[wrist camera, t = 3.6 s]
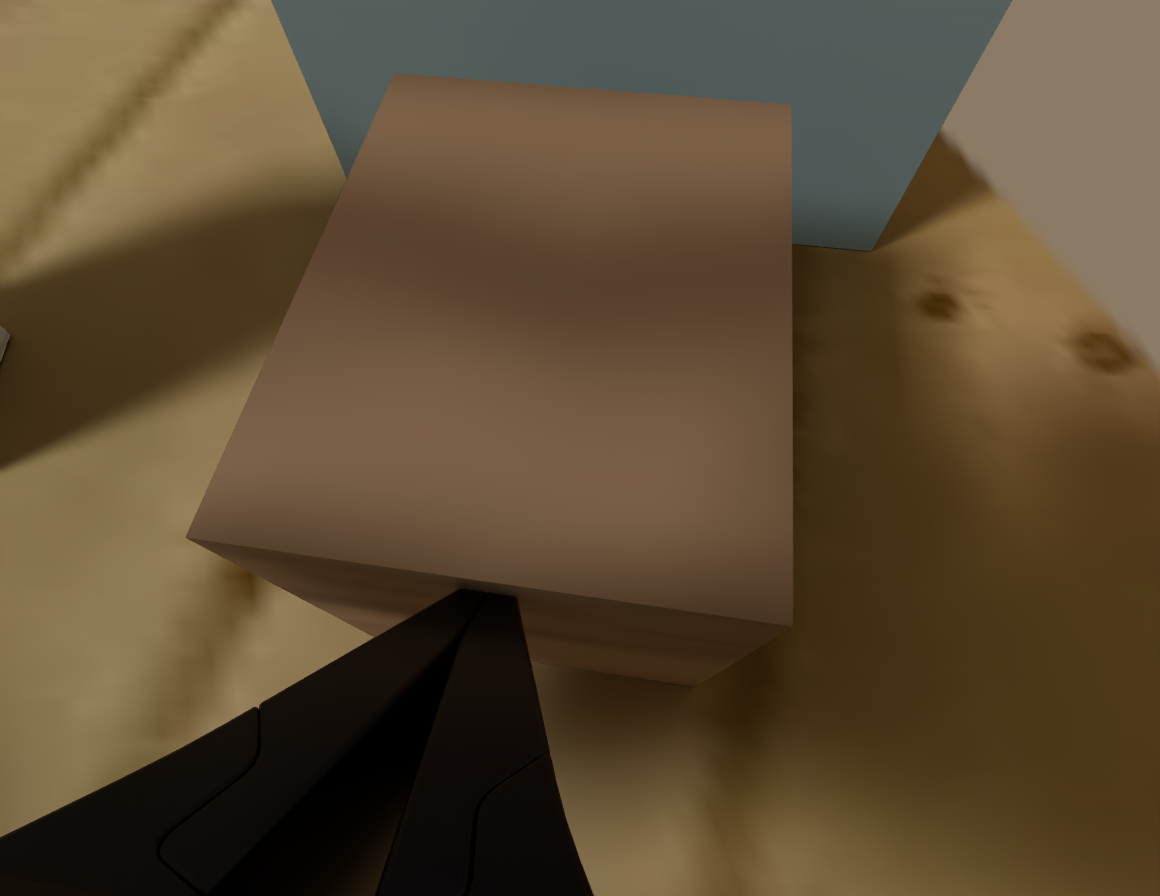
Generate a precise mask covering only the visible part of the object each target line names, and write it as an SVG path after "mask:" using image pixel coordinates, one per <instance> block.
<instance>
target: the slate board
mask: <svg viewBox="0 0 1160 896" xmlns="http://www.w3.org/2000/svg"><path fill="white" fill-rule="evenodd" d="M271 1H272V3H273V6H274V8H275V10H276V13H277V15H278V17H279V20H280V22H281V24H282V27H283V29H284V32H285V34H286V36H287V39H288V41H289V43H290V46H291V48H292V50H293V53H294V55H295V57H296V60H297V62H298V64H299V67H300V69H301V71H302V74H303V76H304V78H305V81H306V83H307V86H308V88H309V90H310V93H311V95H312V97H313V100H314V102H315V104H316V107H317V109H318V111H319V114H320V116H321V118H322V121H323V123H324V125H325V128H326V130H327V133H328V135H329V137H330V140H331V142H332V144H333V147H334V149H335V151H336V154H337V156H338V158H339V161H340V163H341V165H342V168H343V170H344V172H345V175H346V177H347V178H348V175H349V173H350V171H351V169H352V166H353V164H354V162H355V160H356V158H357V155H358V153H359V151H360V149H361V146H362V144H363V142H364V140H365V138H366V135H367V133H368V131H369V129H370V126H371V124H372V122H373V120H374V117H375V115H376V113H377V111H378V109H379V106H380V104H381V102H382V100H383V97H384V95H385V93H386V91H387V89H388V86H389V84H390V82H391V80H392V77H393V75H394V73H399V74H412V75H424V76H437V77H450V78H462V79H475V80H487V81H500V82H513V83H525V84H538V85H551V86H563V87H576V88H588V89H601V90H614V91H626V92H639V93H651V94H664V95H677V96H689V97H702V98H715V99H727V100H740V101H752V102H765V103H778V104H790V105H791V112H792V244H799V245H809V246H820V247H831V248H841V249H852V250H863V251H872V250H873V248H874V246H875V244H876V242H877V241H878V239H879V237H880V235H881V234H882V232H883V230H884V228H885V226H886V225H887V223H888V221H889V219H890V218H891V216H892V214H893V212H894V210H895V209H896V207H897V205H898V203H899V201H900V200H901V198H902V196H903V194H904V193H905V191H906V189H907V187H908V185H909V184H910V182H911V180H912V178H913V176H914V175H915V173H916V171H917V169H918V168H919V166H920V164H921V162H922V160H923V159H924V157H925V155H926V153H927V152H928V150H929V148H930V146H931V144H932V143H933V141H934V139H935V137H936V135H937V134H938V132H939V130H940V128H941V127H942V125H943V123H944V121H945V119H946V117H947V116H948V114H949V112H950V110H951V109H952V107H953V105H954V103H955V102H956V100H957V98H958V96H959V94H960V93H961V91H962V89H963V87H964V86H965V84H966V82H967V80H968V78H969V77H970V75H971V73H972V71H973V69H974V68H975V66H976V64H977V62H978V60H979V59H980V57H981V55H982V53H983V52H984V50H985V48H986V46H987V44H988V43H989V41H990V39H991V37H992V36H993V34H994V32H995V30H996V28H997V27H998V25H999V23H1000V21H1001V20H1002V18H1003V16H1004V14H1005V12H1006V10H1007V9H1008V7H1009V5H1010V3H1011V2H1012V0H271Z"/></svg>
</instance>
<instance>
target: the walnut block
mask: <svg viewBox="0 0 1160 896" xmlns="http://www.w3.org/2000/svg"><path fill="white" fill-rule="evenodd" d="M186 538H187V539H189V540H191V541H193V542H195V543H197V544H199V545H200V546H202V547H204V548H206V549H208V550H210V551H212V552H214V553H216V554H218V555H219V556H221V557H223V558H225V559H227V560H229V561H231V562H233V563H235V564H237V565H238V566H240V567H242V568H244V569H246V570H248V571H250V572H252V573H254V574H255V575H257V576H259V577H261V578H263V579H265V580H267V581H269V582H271V583H273V584H274V585H276V586H278V587H280V588H282V589H284V590H286V591H288V592H290V593H292V594H293V595H295V596H297V597H299V598H301V599H303V600H305V601H307V602H309V603H310V604H312V605H314V606H316V607H318V608H320V609H322V610H324V611H326V612H328V613H329V614H331V615H333V616H335V617H337V618H339V619H341V620H343V621H345V622H347V623H348V624H350V625H352V626H354V627H356V628H358V629H360V630H362V631H364V632H365V633H367V634H369V635H371V636H373V637H376V636H378V635H380V634H381V633H383V632H385V631H387V630H388V629H390V628H392V627H394V626H395V625H397V624H399V623H401V622H402V621H404V620H406V619H407V618H409V617H411V616H413V615H414V614H416V613H418V612H420V611H421V610H423V609H425V608H426V607H428V606H430V605H432V604H433V603H435V602H437V601H439V600H440V599H442V598H444V597H445V596H447V595H449V594H451V593H452V592H454V591H456V590H458V589H468V590H475V591H482V592H485V593H487V595H489V594H490V593H496V594H502V595H509V596H515V597H516V598H517V599H518V603H519V608H520V613H521V617H522V622H523V627H524V632H525V636H526V641H527V646H528V651H529V655H530V660H531V662H536V663H543V664H549V665H556V666H562V667H568V668H575V669H581V670H588V671H594V672H601V673H607V674H613V675H620V676H626V677H633V678H639V679H645V680H652V681H658V682H665V683H671V684H678V685H684V686H690V687H696V686H698V685H700V684H701V683H703V682H704V681H706V680H708V679H709V678H711V677H713V676H714V675H716V674H717V673H719V672H721V671H722V670H724V669H725V668H727V667H729V666H730V665H732V664H734V663H735V662H737V661H738V660H740V659H742V658H743V657H745V656H746V655H748V654H750V653H751V652H753V651H755V650H756V649H758V648H759V647H761V646H763V645H764V644H766V643H768V642H769V641H771V640H772V639H774V638H776V637H777V636H779V635H780V634H782V633H784V632H785V631H787V630H789V629H790V628H792V627H793V626H794V620H793V366H792V112H791V105H790V104H778V103H765V102H752V101H740V100H727V99H715V98H702V97H689V96H677V95H664V94H651V93H639V92H626V91H614V90H601V89H588V88H576V87H563V86H551V85H538V84H525V83H513V82H500V81H487V80H475V79H462V78H450V77H437V76H424V75H412V74H399V73H394V75H393V77H392V80H391V82H390V84H389V86H388V89H387V91H386V93H385V95H384V97H383V100H382V102H381V104H380V106H379V109H378V111H377V113H376V115H375V117H374V120H373V122H372V124H371V126H370V129H369V131H368V133H367V135H366V138H365V140H364V142H363V144H362V146H361V149H360V151H359V153H358V155H357V158H356V160H355V162H354V164H353V166H352V169H351V171H350V173H349V175H348V178H347V180H346V182H345V184H344V186H343V189H342V191H341V193H340V195H339V198H338V200H337V202H336V204H335V206H334V209H333V211H332V213H331V215H330V218H329V220H328V222H327V224H326V226H325V229H324V231H323V233H322V235H321V238H320V240H319V242H318V244H317V246H316V249H315V251H314V253H313V255H312V258H311V260H310V262H309V264H308V266H307V269H306V271H305V273H304V275H303V278H302V280H301V282H300V284H299V286H298V289H297V291H296V293H295V295H294V298H293V300H292V302H291V304H290V306H289V309H288V311H287V313H286V315H285V318H284V320H283V322H282V324H281V326H280V329H279V331H278V333H277V335H276V338H275V340H274V342H273V344H272V346H271V349H270V351H269V353H268V355H267V358H266V360H265V362H264V364H263V366H262V369H261V371H260V373H259V375H258V378H257V380H256V382H255V384H254V386H253V389H252V391H251V393H250V395H249V398H248V400H247V402H246V404H245V406H244V409H243V411H242V413H241V415H240V418H239V420H238V422H237V424H236V426H235V429H234V431H233V433H232V435H231V438H230V440H229V442H228V444H227V446H226V449H225V451H224V453H223V455H222V458H221V460H220V462H219V464H218V466H217V469H216V471H215V473H214V475H213V478H212V480H211V482H210V484H209V486H208V489H207V491H206V493H205V495H204V498H203V500H202V502H201V504H200V506H199V509H198V511H197V513H196V515H195V518H194V520H193V522H192V524H191V526H190V529H189V531H188V533H187V535H186Z"/></svg>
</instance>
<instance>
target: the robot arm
mask: <svg viewBox="0 0 1160 896" xmlns="http://www.w3.org/2000/svg"><path fill="white" fill-rule="evenodd" d="M0 896H594V895H593V892H592V890H591V887H590V885H589V882H588V879H587V877H586V874H585V871H584V869H583V866H582V864H581V861H580V858H579V855H578V852H577V849H576V846H575V843H574V840H573V838H572V835H571V832H570V829H569V826H568V823H567V820H566V817H565V813H564V809H563V805H562V801H561V797H560V793H559V789H558V785H557V781H556V777H555V772H554V768H553V763H552V758H551V756H550V750H549V746H548V741H547V736H546V731H545V727H544V722H543V717H542V712H541V708H540V703H539V698H538V693H537V689H536V684H535V679H534V674H533V670H532V665H531V660H530V655H529V651H528V646H527V641H526V636H525V632H524V627H523V622H522V617H521V613H520V608H519V603H518V599H517V598H516V597H515V596H509V595H502V594H496V593H490V594H489V595H487V593H485V592H482V591H475V590H468V589H458V590H456V591H454V592H452V593H451V594H449V595H447V596H445V597H444V598H442V599H440V600H439V601H437V602H435V603H433V604H432V605H430V606H428V607H426V608H425V609H423V610H421V611H420V612H418V613H416V614H414V615H413V616H411V617H409V618H407V619H406V620H404V621H402V622H401V623H399V624H397V625H395V626H394V627H392V628H390V629H388V630H387V631H385V632H383V633H381V634H380V635H378V636H376V637H375V638H373V639H371V640H369V641H368V642H366V643H364V644H362V645H361V646H359V647H357V648H356V649H354V650H352V651H350V652H349V653H347V654H345V655H343V656H342V657H340V658H338V659H337V660H335V661H333V662H331V663H330V664H328V665H326V666H324V667H323V668H321V669H319V670H317V671H316V672H314V673H312V674H311V675H309V676H307V677H305V678H304V679H302V680H300V681H298V682H297V683H295V684H293V685H292V686H290V687H288V688H286V689H285V690H283V691H281V692H279V693H278V694H276V695H274V696H273V697H271V698H269V699H267V700H266V701H264V702H262V703H261V704H260V706H259V709H258V708H257V707H253V708H251V709H250V710H248V711H246V712H244V713H243V714H241V715H239V716H237V717H236V718H234V719H232V720H231V721H229V722H227V723H225V724H224V725H222V726H220V727H218V728H216V729H215V730H213V731H211V732H209V733H207V734H205V735H204V736H202V737H200V738H198V739H196V740H195V741H193V742H191V743H189V744H187V745H186V746H184V747H182V748H180V749H178V750H176V751H174V752H172V753H170V754H168V755H166V756H164V757H163V758H161V759H159V760H157V761H155V762H153V763H151V764H149V765H147V766H145V767H143V768H141V769H139V770H137V771H135V772H133V773H131V774H129V775H127V776H125V777H123V778H121V779H119V780H117V781H115V782H113V783H111V784H109V785H107V786H105V787H103V788H101V789H99V790H97V791H94V792H92V793H90V794H88V795H86V796H84V797H82V798H80V799H78V800H76V801H74V802H72V803H70V804H68V805H66V806H64V807H62V808H60V809H58V810H56V811H54V812H51V813H49V814H47V815H45V816H43V817H41V818H39V819H37V820H35V821H33V822H31V823H29V824H27V825H25V826H23V827H21V828H19V829H17V830H15V831H13V832H11V833H8V834H6V835H4V836H2V837H0Z"/></svg>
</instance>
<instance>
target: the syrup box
mask: <svg viewBox="0 0 1160 896" xmlns="http://www.w3.org/2000/svg"><path fill="white" fill-rule="evenodd" d="M9 338H10V334H8V333H7V332H6V330H5V329H4V328H3V327H1V326H0V362H1V359H2V357H3V354H4V351H5V349H6V345H7V342H8V340H9Z"/></svg>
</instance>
